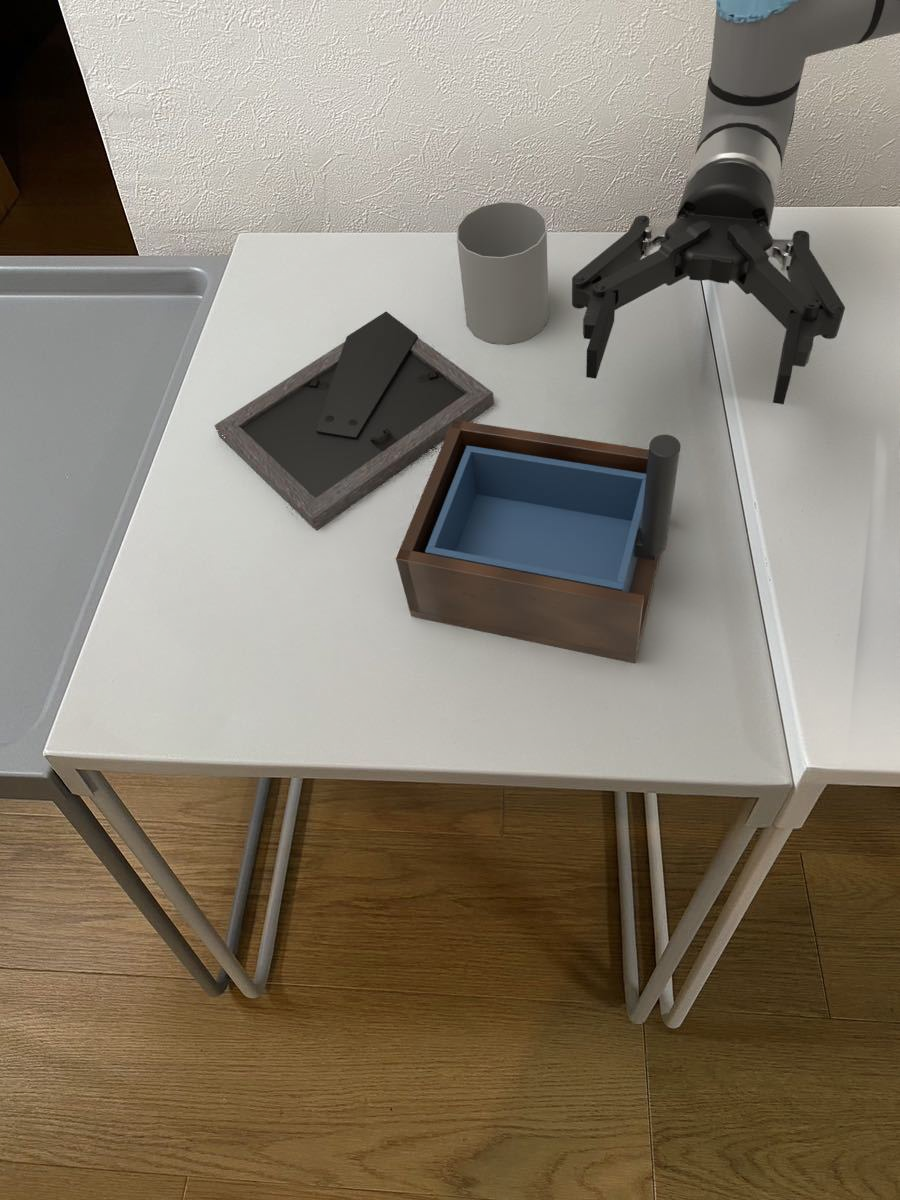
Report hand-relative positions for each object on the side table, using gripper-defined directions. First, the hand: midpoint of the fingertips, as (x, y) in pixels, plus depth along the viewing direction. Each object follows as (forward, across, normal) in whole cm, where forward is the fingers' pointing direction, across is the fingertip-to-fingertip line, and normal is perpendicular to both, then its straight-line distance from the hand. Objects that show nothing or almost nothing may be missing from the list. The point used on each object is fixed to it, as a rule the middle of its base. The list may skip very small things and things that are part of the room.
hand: (684, 377), depth 67 cm
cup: (-20, +20, -14) cm, 32 cm away
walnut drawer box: (+9, +9, -14) cm, 19 cm away
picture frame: (-3, +30, -14) cm, 33 cm away
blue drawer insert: (+9, +7, -13) cm, 17 cm away
